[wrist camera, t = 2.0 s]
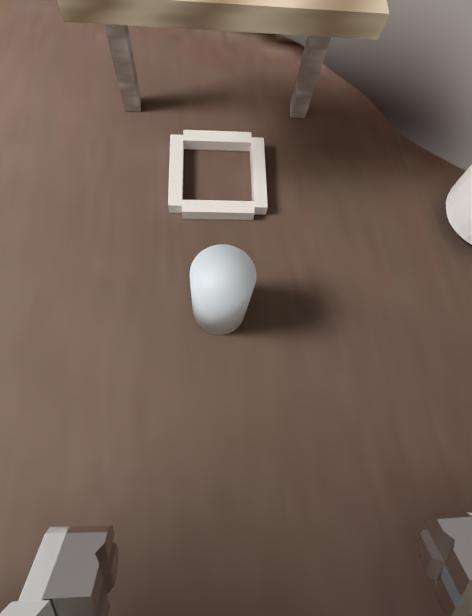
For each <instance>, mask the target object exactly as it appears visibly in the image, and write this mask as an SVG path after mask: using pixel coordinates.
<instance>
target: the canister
mask: <svg viewBox="0 0 472 616" xmlns="http://www.w3.org/2000/svg"><path fill="white" fill-rule="evenodd" d="M255 283H256V269H255V266H254V263H253V262H252V260H251V258H250V257H249V256H248V255H247V254H246V253H245V252H244V251H242V250H241V249H239V248H237V247H234V246H231V245H214V246H211V247H208V248H206V249H204V250H203V251H201V252H200V253H199V254H198V255H197V256H196V258H195V259H194V261H193V262H192V265H191V268H190V284H191V296H192V307H193V315H194V318H195V321H196V323H197V324H198V325H199V327H200V328H202V329H203V330H204V331H206V332H208V333H210V334H214V335H225V334H228V333H231V332H233V331H234V330H236V329H237V328H238V327H239V326H240V325H241V323H242V321H243V319H244V316H245V313H246V310H247V307H248V304H249V301H250V298H251V295H252V292H253V289H254V286H255Z"/></svg>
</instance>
